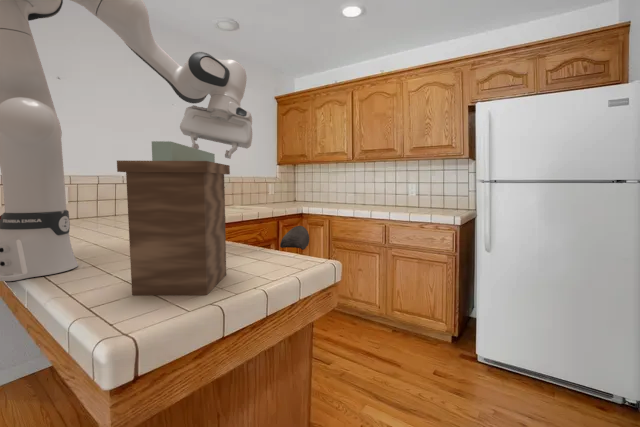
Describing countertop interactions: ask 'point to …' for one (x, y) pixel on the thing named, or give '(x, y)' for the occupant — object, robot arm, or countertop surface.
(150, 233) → the pedestal
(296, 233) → the stone
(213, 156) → the bar
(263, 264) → the countertop surface
